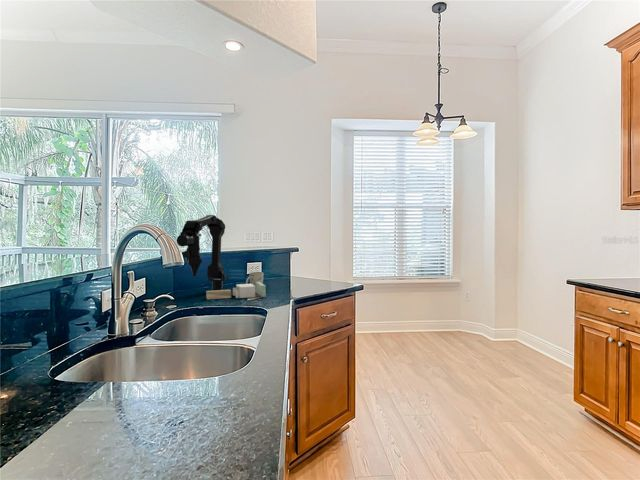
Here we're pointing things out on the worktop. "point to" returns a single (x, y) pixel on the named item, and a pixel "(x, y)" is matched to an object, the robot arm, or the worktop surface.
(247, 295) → the block
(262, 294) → the wall
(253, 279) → the mug
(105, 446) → the worktop surface
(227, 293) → the dowel
